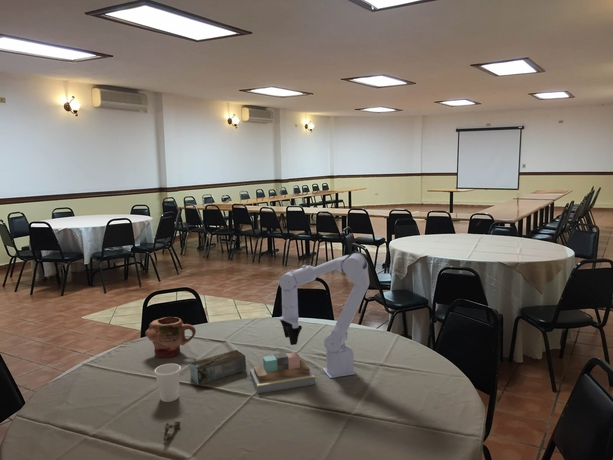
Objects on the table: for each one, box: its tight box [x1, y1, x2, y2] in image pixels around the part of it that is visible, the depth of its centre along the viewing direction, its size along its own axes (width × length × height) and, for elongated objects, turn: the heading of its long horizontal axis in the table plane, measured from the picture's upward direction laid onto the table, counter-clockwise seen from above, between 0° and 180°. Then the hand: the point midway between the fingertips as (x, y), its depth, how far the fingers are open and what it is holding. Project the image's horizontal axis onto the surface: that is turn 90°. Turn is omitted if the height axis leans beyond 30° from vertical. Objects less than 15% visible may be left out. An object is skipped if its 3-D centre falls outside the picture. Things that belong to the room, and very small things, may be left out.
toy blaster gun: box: [163, 420, 182, 442], centre depth 139 cm, size 2×8×4 cm, turn 168°
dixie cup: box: [154, 363, 182, 403], centre depth 160 cm, size 8×8×10 cm
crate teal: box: [262, 354, 277, 372], centre depth 169 cm, size 4×4×4 cm
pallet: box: [253, 351, 311, 382], centre depth 170 cm, size 18×8×6 cm, turn 107°
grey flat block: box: [249, 368, 316, 394], centre depth 171 cm, size 20×14×3 cm
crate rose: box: [286, 352, 301, 369], centre depth 171 cm, size 4×4×4 cm
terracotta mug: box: [144, 316, 197, 359], centre depth 196 cm, size 20×12×14 cm, turn 95°
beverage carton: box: [189, 349, 247, 386], centre depth 177 cm, size 8×19×7 cm, turn 124°
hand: (290, 340), depth 180 cm, fingers open, 7 cm apart
